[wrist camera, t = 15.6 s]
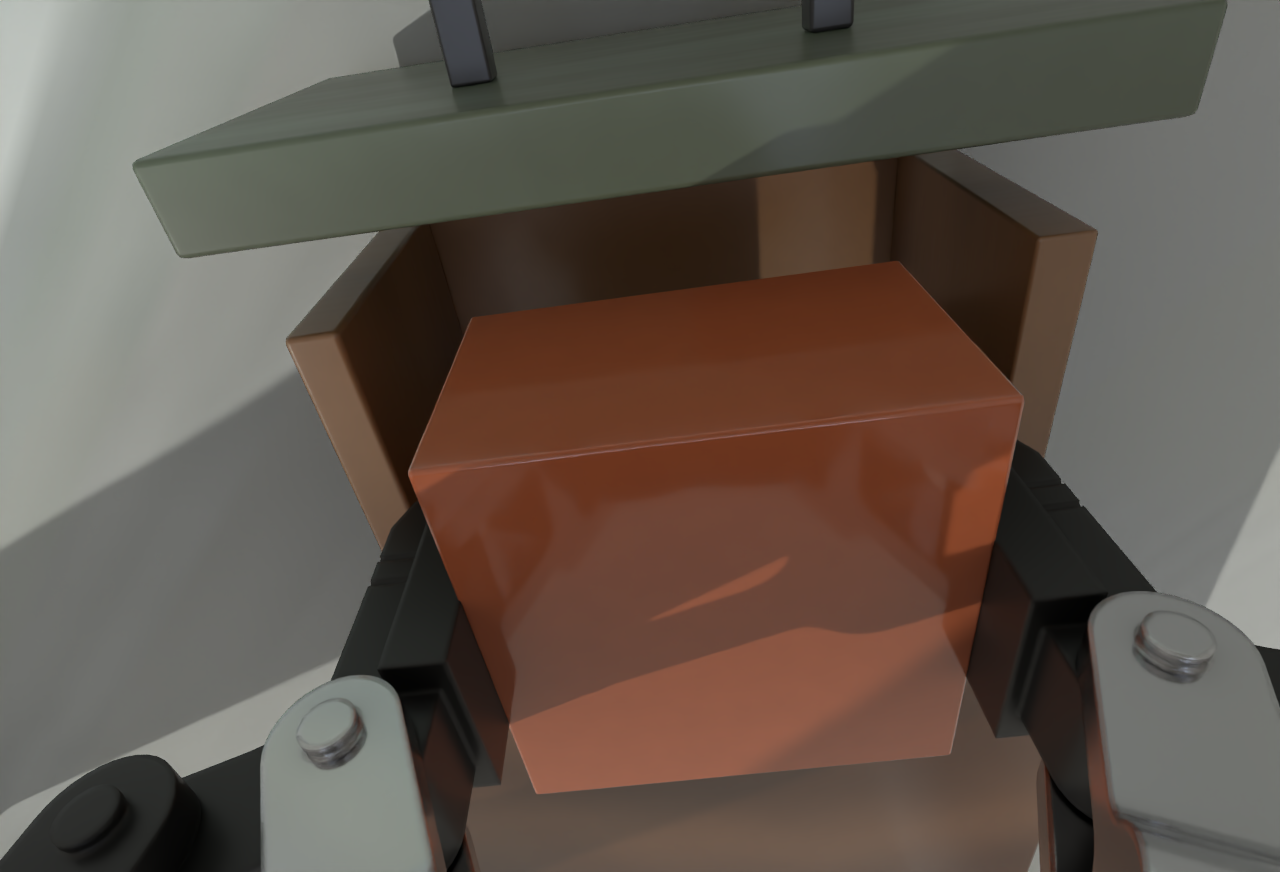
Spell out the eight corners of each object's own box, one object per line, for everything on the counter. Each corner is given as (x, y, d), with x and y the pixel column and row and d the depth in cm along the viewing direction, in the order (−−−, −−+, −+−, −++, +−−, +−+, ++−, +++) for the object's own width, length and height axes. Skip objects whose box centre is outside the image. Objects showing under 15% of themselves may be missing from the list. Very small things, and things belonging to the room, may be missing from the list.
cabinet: (441, 439, 20) (342, 712, 13) (933, 378, 19) (1122, 630, 12) (552, 754, 28) (531, 1019, 21) (893, 719, 28) (987, 982, 21)
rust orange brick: (554, 605, 12) (534, 797, 10) (469, 315, 9) (403, 473, 6) (875, 571, 12) (952, 756, 9) (900, 257, 9) (1028, 397, 6)
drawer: (201, -285, 11) (-243, -542, 5) (1016, -435, 10) (1500, -908, 5) (503, 592, 22) (464, 811, 16) (906, 546, 21) (1010, 758, 16)
